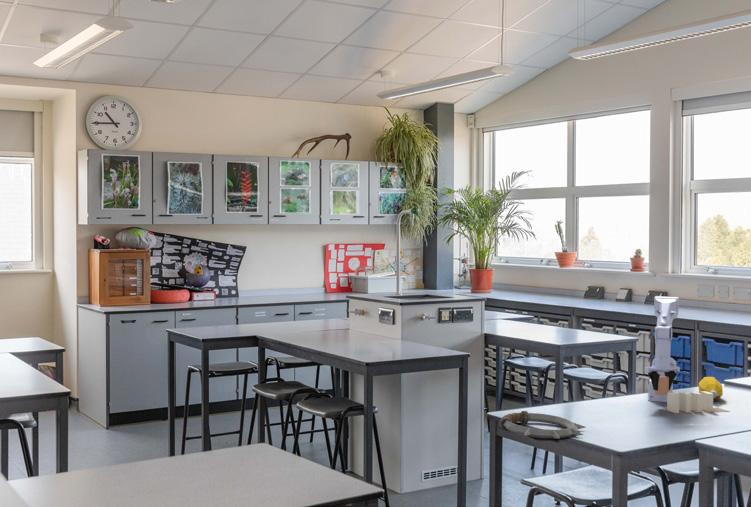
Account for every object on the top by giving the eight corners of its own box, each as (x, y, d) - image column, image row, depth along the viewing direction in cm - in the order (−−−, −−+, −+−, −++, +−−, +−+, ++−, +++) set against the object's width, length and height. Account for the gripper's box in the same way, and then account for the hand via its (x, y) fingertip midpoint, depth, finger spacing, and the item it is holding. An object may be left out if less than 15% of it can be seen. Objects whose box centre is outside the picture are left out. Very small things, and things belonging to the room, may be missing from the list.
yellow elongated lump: (708, 411, 343) (696, 389, 344) (701, 398, 371) (691, 377, 372) (731, 402, 340) (720, 379, 341) (723, 389, 369) (713, 368, 370)
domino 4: (697, 412, 327) (697, 394, 326) (689, 409, 331) (689, 391, 331) (701, 411, 327) (702, 394, 327) (693, 409, 332) (694, 391, 332)
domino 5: (708, 411, 328) (708, 393, 328) (700, 409, 333) (700, 391, 332) (712, 411, 328) (713, 393, 328) (704, 408, 333) (705, 391, 333)
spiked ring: (481, 432, 287) (562, 451, 269) (481, 419, 287) (563, 437, 269) (525, 416, 314) (602, 432, 296) (526, 404, 314) (603, 420, 296)
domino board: (672, 415, 322) (672, 413, 322) (660, 411, 330) (660, 409, 330) (730, 413, 329) (730, 411, 328) (717, 409, 336) (717, 407, 336)
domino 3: (685, 412, 325) (686, 394, 325) (678, 409, 330) (678, 392, 330) (690, 412, 326) (690, 394, 326) (682, 409, 331) (683, 391, 330)
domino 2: (674, 412, 324) (675, 394, 324) (666, 410, 329) (667, 392, 329) (679, 412, 325) (679, 394, 324) (671, 409, 329) (672, 392, 329)
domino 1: (668, 394, 334) (669, 377, 334) (657, 395, 333) (658, 377, 333) (665, 393, 336) (666, 376, 336) (654, 394, 335) (655, 376, 335)
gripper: (652, 357, 328) (651, 392, 329) (684, 357, 332) (683, 391, 332) (642, 355, 335) (641, 389, 336) (674, 354, 339) (673, 388, 339)
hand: (661, 390), depth 334 cm, fingers closed on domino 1, 5 cm apart
